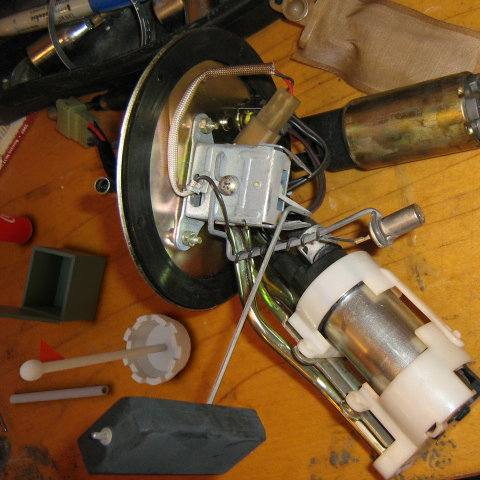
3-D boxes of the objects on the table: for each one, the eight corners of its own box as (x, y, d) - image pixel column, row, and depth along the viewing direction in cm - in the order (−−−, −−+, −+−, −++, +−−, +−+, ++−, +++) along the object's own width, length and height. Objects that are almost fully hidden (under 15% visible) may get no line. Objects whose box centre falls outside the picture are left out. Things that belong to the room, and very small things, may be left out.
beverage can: (27, 212, 110) (-26, 203, 99) (38, 230, 108) (-15, 224, 97) (12, 230, 111) (-42, 224, 100) (23, 249, 109) (-31, 244, 98)
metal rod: (109, 393, 96) (101, 395, 94) (18, 402, 105) (9, 404, 103) (108, 384, 96) (100, 386, 94) (17, 393, 105) (9, 395, 103)
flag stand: (206, 351, 88) (71, 380, 60) (163, 394, 91) (15, 440, 63) (171, 299, 92) (29, 304, 64) (131, 341, 95) (-22, 363, 67)
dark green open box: (65, 248, 104) (32, 245, 97) (106, 257, 100) (75, 255, 92) (53, 307, 104) (20, 309, 97) (94, 319, 99) (62, 322, 92)
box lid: (-56, 296, 83) (-68, 327, 82) (-11, 311, 78) (-23, 343, 77) (18, 307, 96) (8, 333, 95) (60, 320, 91) (51, 348, 90)
